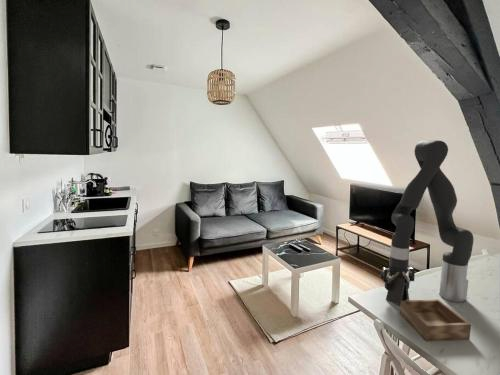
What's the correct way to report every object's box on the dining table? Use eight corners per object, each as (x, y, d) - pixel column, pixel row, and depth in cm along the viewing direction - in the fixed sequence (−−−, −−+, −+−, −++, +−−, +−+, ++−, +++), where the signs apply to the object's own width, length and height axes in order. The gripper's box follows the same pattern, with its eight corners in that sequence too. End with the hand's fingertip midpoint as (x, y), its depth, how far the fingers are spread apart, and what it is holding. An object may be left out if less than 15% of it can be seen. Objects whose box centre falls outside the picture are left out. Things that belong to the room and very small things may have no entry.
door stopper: (399, 305, 117) (400, 280, 115) (385, 299, 122) (387, 275, 120) (409, 298, 122) (410, 274, 120) (395, 293, 127) (397, 269, 125)
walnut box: (437, 312, 111) (438, 299, 111) (469, 339, 96) (471, 324, 95) (399, 313, 111) (400, 300, 110) (426, 341, 95) (427, 326, 94)
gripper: (409, 252, 123) (406, 285, 125) (379, 252, 122) (377, 285, 124) (420, 258, 115) (417, 293, 118) (388, 259, 115) (385, 294, 117)
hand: (396, 289), depth 121 cm, fingers open, 8 cm apart
